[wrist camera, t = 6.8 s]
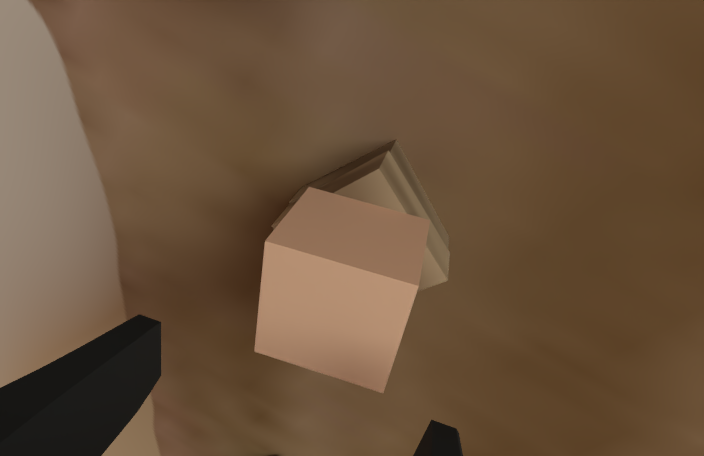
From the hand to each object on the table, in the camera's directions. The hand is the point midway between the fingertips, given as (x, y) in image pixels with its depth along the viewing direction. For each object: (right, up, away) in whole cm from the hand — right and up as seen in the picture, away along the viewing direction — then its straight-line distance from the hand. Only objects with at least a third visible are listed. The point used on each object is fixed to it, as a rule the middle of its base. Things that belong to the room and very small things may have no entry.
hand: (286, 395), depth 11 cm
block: (+2, +3, +6) cm, 7 cm away
